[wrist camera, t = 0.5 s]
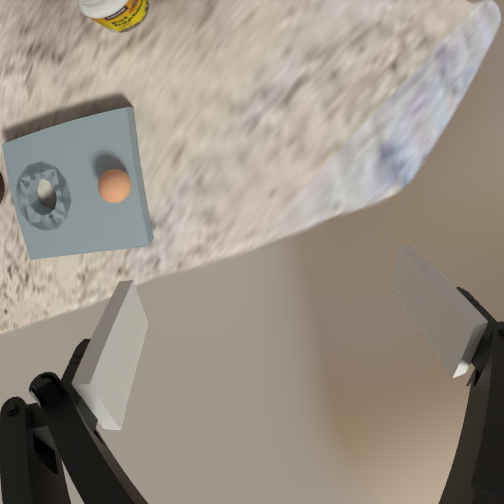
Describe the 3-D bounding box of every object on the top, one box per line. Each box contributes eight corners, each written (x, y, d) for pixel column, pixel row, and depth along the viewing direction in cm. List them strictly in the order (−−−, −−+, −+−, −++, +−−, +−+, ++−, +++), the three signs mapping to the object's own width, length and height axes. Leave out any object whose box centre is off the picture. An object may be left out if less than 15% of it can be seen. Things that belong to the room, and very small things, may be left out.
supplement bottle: (125, 42, 27) (90, 22, 18) (96, 19, 25) (56, -4, 16) (160, 8, 26) (137, -25, 16) (130, -15, 24) (100, -48, 14)
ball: (102, 168, 31) (89, 175, 28) (132, 163, 31) (121, 170, 28) (108, 199, 33) (96, 209, 29) (137, 195, 33) (128, 205, 29)
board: (12, 141, 30) (2, 144, 28) (133, 106, 31) (126, 107, 28) (39, 251, 37) (30, 259, 35) (153, 237, 38) (149, 246, 35)
